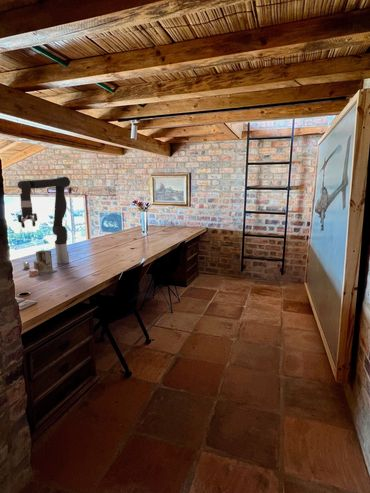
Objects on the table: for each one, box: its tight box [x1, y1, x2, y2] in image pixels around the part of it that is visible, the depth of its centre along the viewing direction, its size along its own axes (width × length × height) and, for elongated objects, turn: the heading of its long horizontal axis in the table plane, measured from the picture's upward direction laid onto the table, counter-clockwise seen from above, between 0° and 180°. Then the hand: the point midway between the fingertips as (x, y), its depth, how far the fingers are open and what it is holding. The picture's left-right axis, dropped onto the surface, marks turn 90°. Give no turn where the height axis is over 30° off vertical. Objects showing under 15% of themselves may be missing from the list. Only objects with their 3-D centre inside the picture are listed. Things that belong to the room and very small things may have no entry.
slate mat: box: [37, 269, 58, 276], centre depth 219 cm, size 12×12×1 cm
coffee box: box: [35, 249, 54, 273], centre depth 218 cm, size 9×6×16 cm
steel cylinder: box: [23, 261, 30, 270], centre depth 229 cm, size 4×4×5 cm
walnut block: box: [33, 260, 38, 269], centre depth 234 cm, size 5×5×5 cm
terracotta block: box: [28, 268, 39, 277], centre depth 212 cm, size 4×4×4 cm
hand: (28, 227), depth 222 cm, fingers open, 8 cm apart
